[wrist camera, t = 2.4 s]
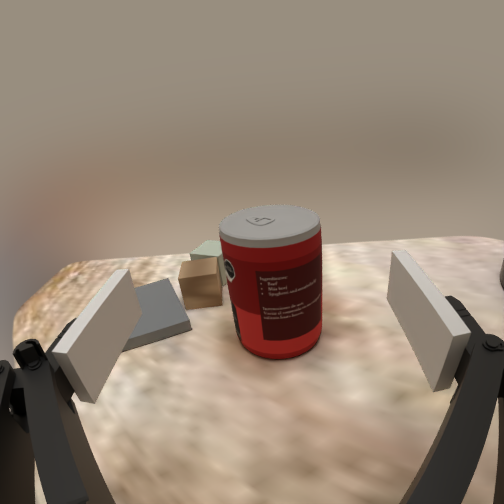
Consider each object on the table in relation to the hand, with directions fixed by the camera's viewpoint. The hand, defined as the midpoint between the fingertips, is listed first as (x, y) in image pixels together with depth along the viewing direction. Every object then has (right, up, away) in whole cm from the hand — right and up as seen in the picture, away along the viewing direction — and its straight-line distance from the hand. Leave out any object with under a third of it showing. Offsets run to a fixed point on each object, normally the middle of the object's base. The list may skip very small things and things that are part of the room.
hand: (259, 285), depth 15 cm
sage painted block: (-5, -1, +25) cm, 26 cm away
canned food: (+2, -6, +14) cm, 15 cm away
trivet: (-13, -6, +18) cm, 23 cm away
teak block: (-6, -4, +21) cm, 22 cm away
